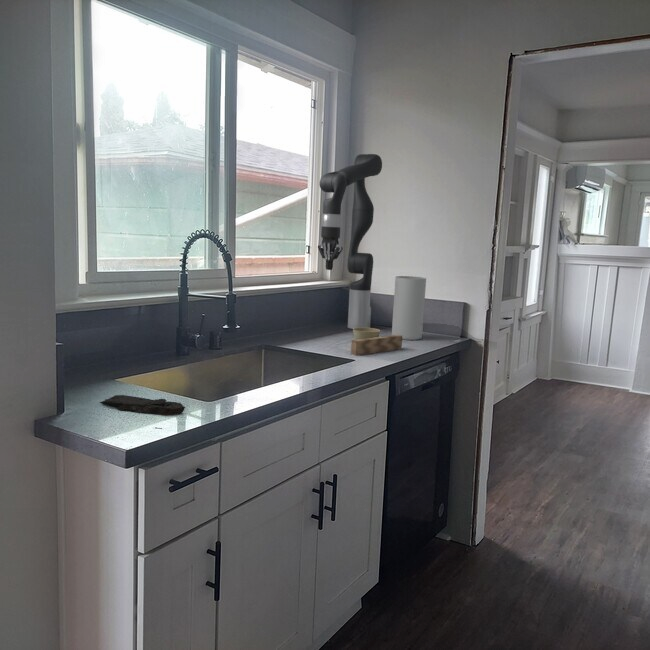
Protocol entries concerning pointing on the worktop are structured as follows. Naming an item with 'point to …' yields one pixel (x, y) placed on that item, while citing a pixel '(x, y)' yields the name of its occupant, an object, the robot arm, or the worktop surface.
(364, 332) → the flower pot
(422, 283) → the cylinder vase
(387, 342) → the board
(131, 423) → the worktop surface
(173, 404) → the wood
